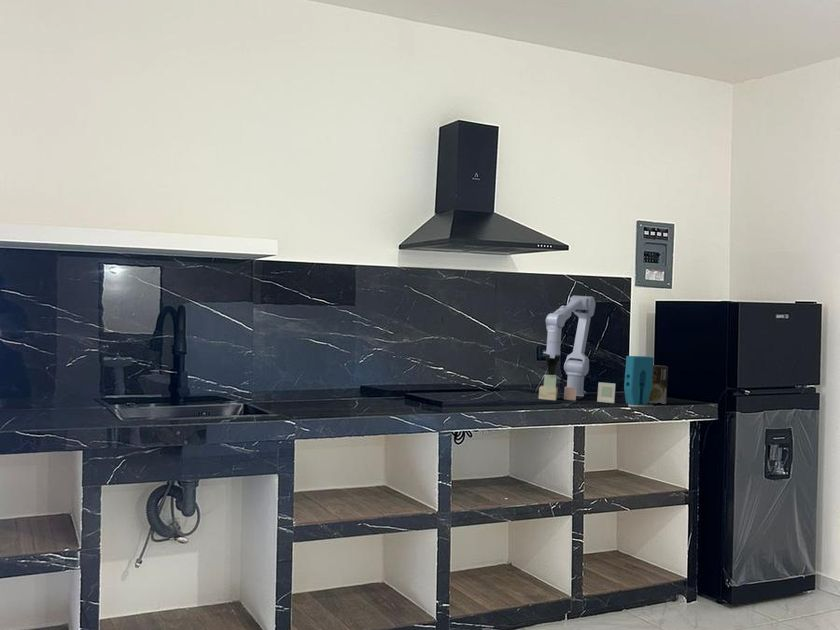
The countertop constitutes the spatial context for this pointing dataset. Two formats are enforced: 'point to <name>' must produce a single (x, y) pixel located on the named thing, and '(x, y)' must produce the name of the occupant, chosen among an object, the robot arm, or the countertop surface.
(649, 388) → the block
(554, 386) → the sage cube
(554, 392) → the base block
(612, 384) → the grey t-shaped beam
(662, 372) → the coffee box
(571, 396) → the pink cube
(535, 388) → the countertop surface
